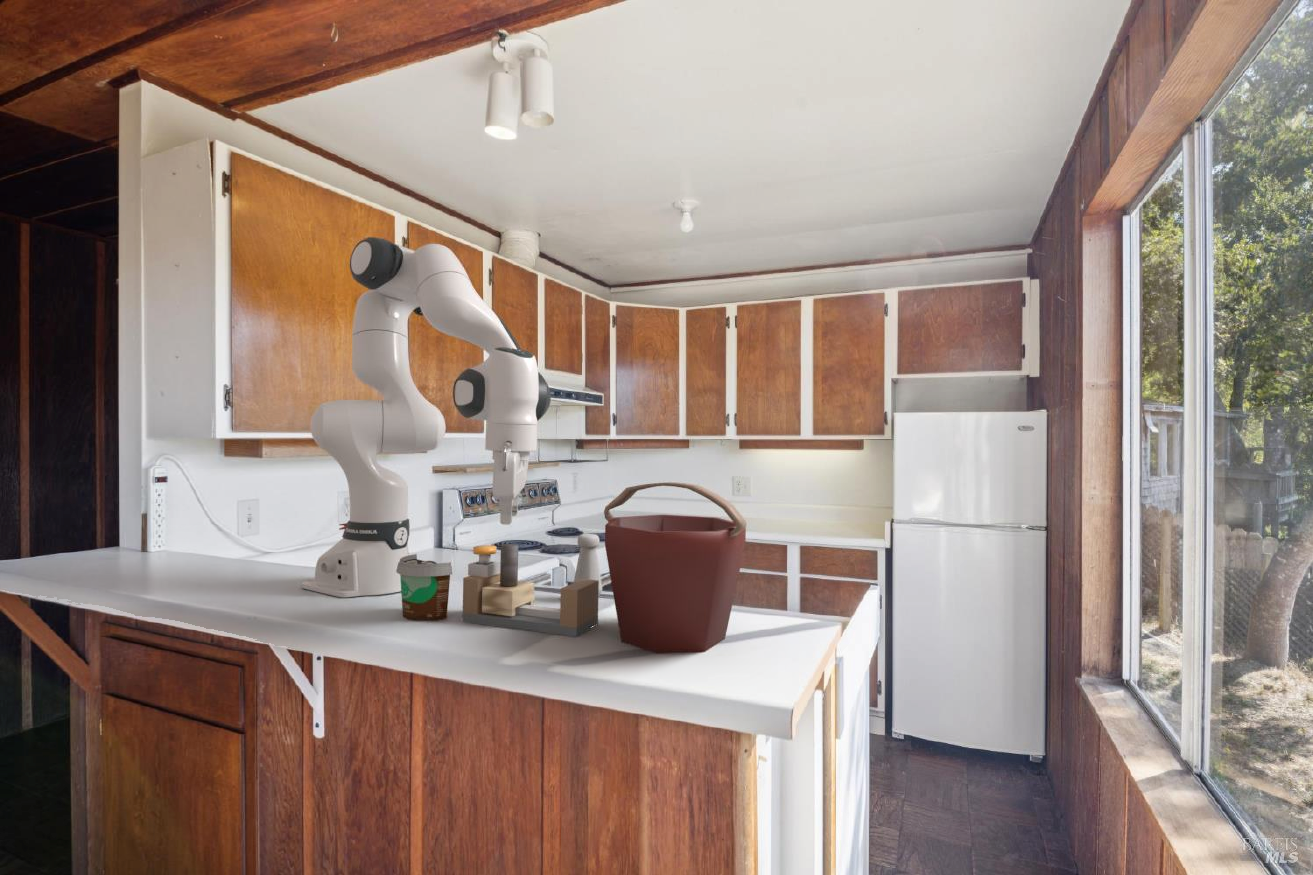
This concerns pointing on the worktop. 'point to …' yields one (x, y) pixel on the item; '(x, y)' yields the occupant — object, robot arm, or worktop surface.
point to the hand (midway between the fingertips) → (509, 519)
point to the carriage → (507, 586)
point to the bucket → (674, 574)
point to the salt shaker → (588, 559)
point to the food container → (424, 588)
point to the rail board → (568, 620)
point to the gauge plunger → (484, 553)
